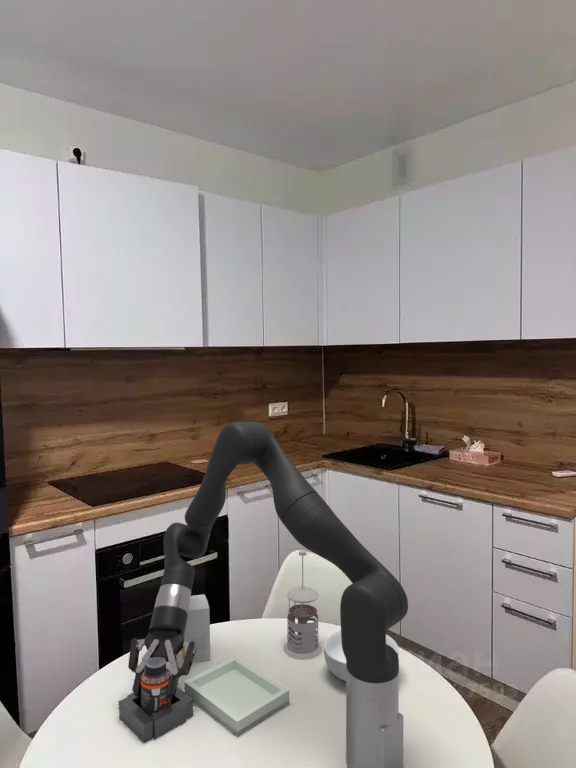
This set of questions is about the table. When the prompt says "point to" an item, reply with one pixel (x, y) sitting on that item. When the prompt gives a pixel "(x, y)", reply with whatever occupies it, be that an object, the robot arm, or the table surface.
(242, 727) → the tray
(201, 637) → the small box
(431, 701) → the table surface
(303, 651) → the french press
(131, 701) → the collar
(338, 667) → the cereal bowl
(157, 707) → the supplement bottle
